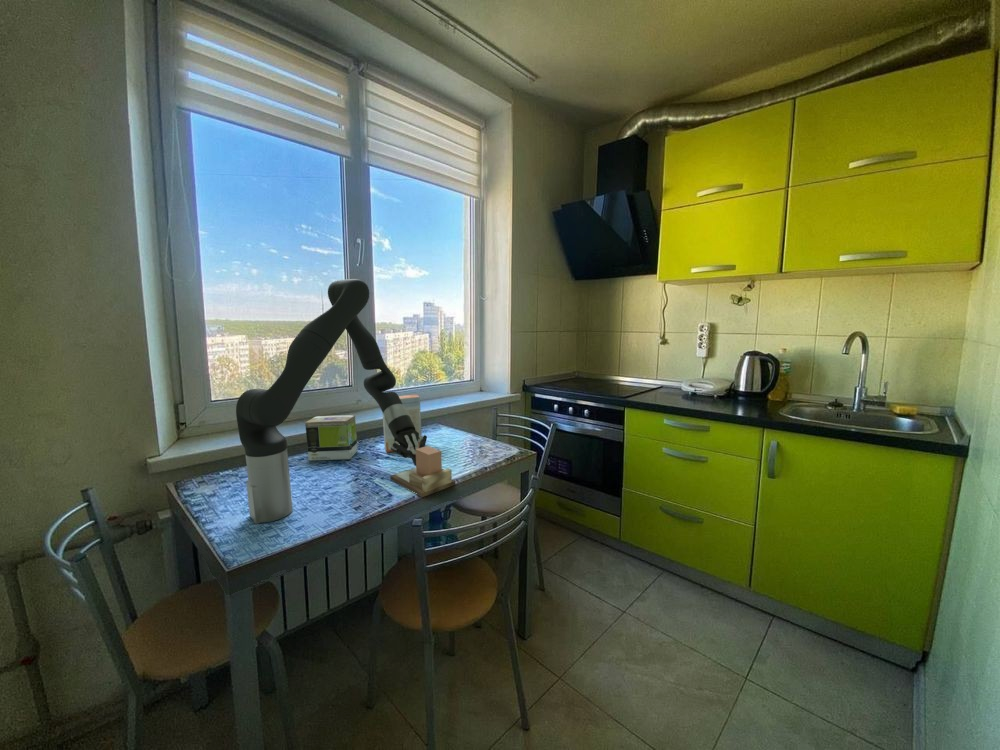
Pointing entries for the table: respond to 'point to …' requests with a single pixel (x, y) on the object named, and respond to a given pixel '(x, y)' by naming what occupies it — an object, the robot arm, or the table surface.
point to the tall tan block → (428, 461)
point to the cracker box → (414, 412)
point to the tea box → (331, 437)
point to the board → (421, 493)
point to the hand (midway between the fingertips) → (420, 465)
